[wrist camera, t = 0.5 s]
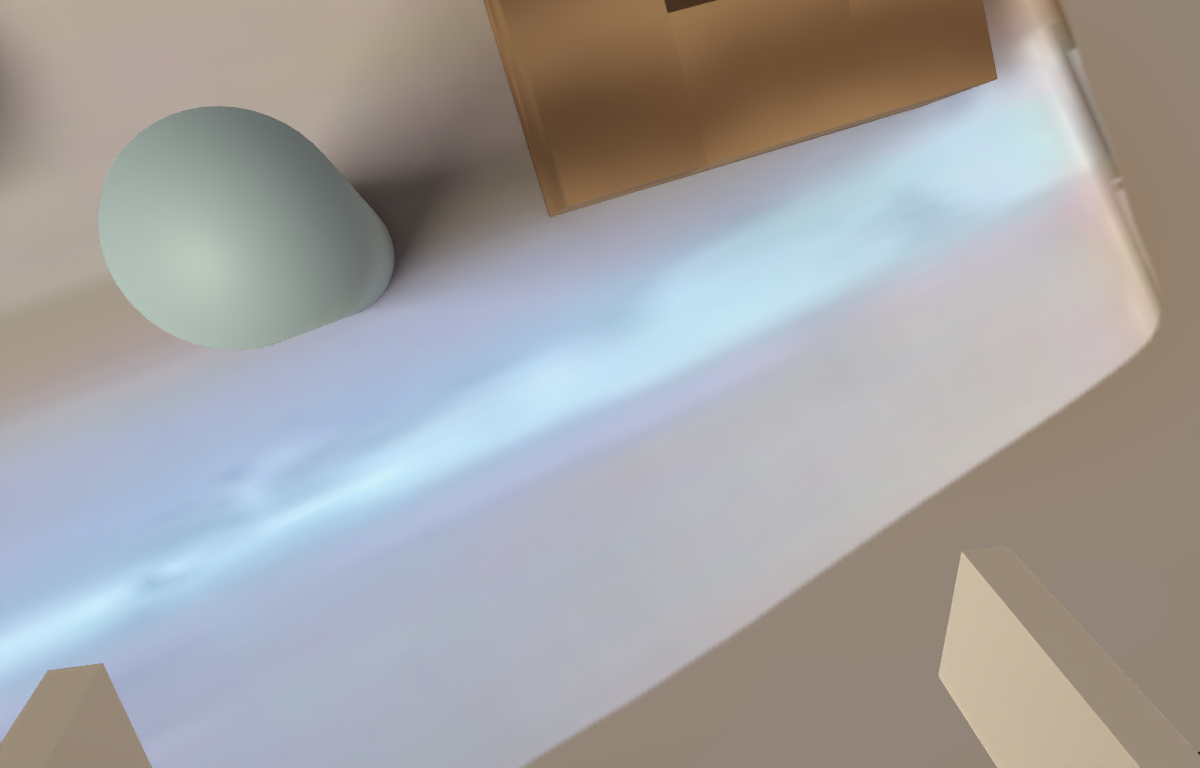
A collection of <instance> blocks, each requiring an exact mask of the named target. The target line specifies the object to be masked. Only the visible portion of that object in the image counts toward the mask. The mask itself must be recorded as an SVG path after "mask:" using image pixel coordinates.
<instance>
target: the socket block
mask: <svg viewBox="0 0 1200 768" xmlns="http://www.w3.org/2000/svg"><path fill="white" fill-rule="evenodd" d="M484 3H485V6H486V10H487V13H488V16H489V19H490V23H491V26H492V29H493V33H494V36H495V39H496V42H497V46H498V49H499V52H500V56H501V59H502V62H503V66H504V69H505V72H506V75H507V79H508V82H509V85H510V89H511V92H512V95H513V98H514V102H515V105H516V108H517V112H518V115H519V118H520V121H521V125H522V128H523V131H524V135H525V138H526V141H527V144H528V148H529V151H530V154H531V158H532V161H533V164H534V168H535V171H536V174H537V177H538V181H539V184H540V187H541V191H542V194H543V197H544V200H545V204H546V207H547V210H548V214H549V217H551V216H555V215H558V214H562V213H565V212H568V211H572V210H575V209H578V208H582V207H585V206H588V205H592V204H595V203H599V202H602V201H605V200H609V199H612V198H615V197H619V196H622V195H625V194H629V193H632V192H635V191H639V190H642V189H646V188H649V187H652V186H656V185H659V184H662V183H666V182H669V181H672V180H676V179H679V178H683V177H686V176H689V175H693V174H696V173H699V172H703V171H706V170H709V169H713V168H716V167H719V166H723V165H726V164H730V163H733V162H736V161H740V160H743V159H746V158H750V157H753V156H756V155H760V154H763V153H766V152H770V151H773V150H777V149H780V148H783V147H787V146H790V145H793V144H797V143H800V142H803V141H807V140H810V139H814V138H817V137H820V136H824V135H827V134H830V133H834V132H837V131H840V130H844V129H847V128H850V127H854V126H857V125H861V124H864V123H867V122H871V121H874V120H877V119H881V118H884V117H887V116H891V115H894V114H898V113H901V112H904V111H908V110H911V109H914V108H918V107H921V106H924V105H927V104H930V103H932V102H935V101H938V100H941V99H943V98H946V97H949V96H951V95H954V94H957V93H960V92H962V91H965V90H968V89H971V88H973V87H976V86H979V85H982V84H984V83H987V82H990V81H993V80H995V79H997V74H996V69H995V64H994V58H993V53H992V48H991V43H990V38H989V33H988V28H987V23H986V17H985V12H984V7H983V2H982V0H484Z"/></svg>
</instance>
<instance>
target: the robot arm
mask: <svg viewBox="0 0 1200 768" xmlns="http://www.w3.org/2000/svg"><path fill="white" fill-rule="evenodd" d="M939 678H940V679H941V681H942V682H943V684H944V686H945V687H946V689H947V690H948V692H949V693H950V695H951V696H952V698H953V700H954V701H955V703H956V704H957V706H958V707H959V709H960V710H961V712H962V714H963V715H964V717H965V718H966V719H967V721H968V723H969V724H970V726H971V727H972V729H973V731H974V732H975V734H976V735H977V737H978V738H979V740H980V741H981V743H982V745H983V746H984V748H985V749H986V751H987V752H988V754H989V755H990V757H991V759H992V760H993V762H994V763H995V765H996V766H997V768H1200V752H1196V751H1195V750H1194V748H1193V747H1192V746H1191V745H1190V744H1189V743H1188V742H1187V741H1186V740H1185V739H1184V738H1183V737H1182V735H1181V734H1180V733H1179V732H1178V731H1177V730H1176V729H1175V728H1174V727H1173V725H1172V724H1171V723H1170V722H1169V721H1168V720H1167V719H1166V718H1165V717H1164V716H1163V715H1162V714H1161V712H1160V711H1159V710H1158V709H1157V708H1156V707H1155V706H1154V705H1153V704H1152V703H1151V701H1150V700H1149V699H1148V698H1147V697H1146V696H1145V695H1144V694H1143V693H1142V692H1141V691H1140V689H1139V688H1138V687H1137V686H1136V685H1135V684H1134V683H1133V682H1132V681H1131V680H1130V679H1129V677H1128V676H1127V675H1126V674H1125V673H1124V672H1123V671H1122V670H1121V669H1120V668H1119V667H1118V665H1117V664H1116V663H1115V662H1114V661H1113V660H1112V659H1111V658H1110V657H1109V656H1108V655H1107V653H1106V652H1105V651H1104V650H1103V649H1102V648H1101V647H1100V646H1099V645H1098V644H1097V643H1096V641H1095V640H1094V639H1093V638H1092V637H1091V636H1090V635H1089V634H1088V633H1087V632H1086V631H1085V630H1084V628H1083V627H1082V626H1081V625H1080V624H1079V623H1078V622H1077V621H1076V620H1075V619H1074V617H1073V616H1072V615H1071V614H1070V613H1069V612H1068V611H1067V610H1066V609H1065V608H1064V606H1063V605H1062V604H1061V603H1060V602H1059V601H1058V600H1057V599H1056V598H1055V597H1054V596H1053V594H1051V592H1050V591H1049V590H1048V589H1047V588H1046V587H1045V586H1044V585H1043V584H1042V582H1041V581H1040V580H1039V579H1038V578H1037V577H1036V576H1035V575H1034V574H1033V573H1032V572H1031V570H1030V569H1029V568H1028V567H1027V566H1026V565H1025V564H1024V563H1023V562H1022V561H1021V560H1020V558H1019V557H1018V556H1017V555H1016V554H1015V553H1014V552H1013V551H1012V550H1011V549H1010V548H1009V546H1008V545H1005V546H998V547H991V548H983V549H975V550H967V551H962V552H961V558H960V563H959V569H958V574H957V579H956V584H955V590H954V595H953V600H952V606H951V612H950V617H949V622H948V628H947V633H946V638H945V643H944V649H943V654H942V660H941V665H940V670H939ZM0 768H152V766H151V764H150V762H149V760H148V758H147V756H146V754H145V752H144V750H143V747H142V745H141V743H140V741H139V739H138V737H137V735H136V733H135V730H134V728H133V726H132V724H131V722H130V720H129V718H128V716H127V714H126V711H125V709H124V707H123V705H122V703H121V701H120V699H119V697H118V694H117V692H116V690H115V688H114V686H113V684H112V682H111V680H110V678H109V675H108V673H107V671H106V669H105V667H104V665H103V663H102V664H94V665H86V666H79V667H71V668H63V669H56V670H48V671H47V673H46V674H45V676H44V677H43V679H42V680H41V682H40V683H39V685H38V686H37V688H36V690H35V691H34V693H33V694H32V696H31V697H30V699H29V700H28V702H27V704H26V705H25V707H24V708H23V710H22V711H21V713H20V714H19V716H18V718H17V719H16V721H15V722H14V724H13V725H12V727H11V728H10V730H9V732H8V733H7V735H6V736H5V738H4V739H3V741H2V742H1V744H0Z"/></svg>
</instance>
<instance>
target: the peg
mask: <svg viewBox="0 0 1200 768" xmlns="http://www.w3.org/2000/svg"><path fill="white" fill-rule="evenodd" d="M98 228H99V238H100V243H101V248H102V252H103V255H104V258H105V261H106V264H107V266H108V268H109V271H110V273H111V275H112V277H113V279H114V281H115V282H116V284H117V285H118V287H119V288H120V290H121V291H122V293H123V294H124V296H125V297H126V298H127V299H128V300H129V301H130V303H131V304H132V305H133V306H134V307H135V308H136V309H137V310H138V311H139V312H140V313H141V314H142V315H144V316H145V317H146V318H147V319H148V320H149V321H151V322H152V323H154V324H155V325H157V326H158V327H159V328H161V329H162V330H164V331H166V332H168V333H170V334H172V335H174V336H175V337H178V338H180V339H183V340H185V341H188V342H190V343H193V344H197V345H201V346H205V347H208V348H215V349H223V350H247V349H256V348H261V347H265V346H270V345H274V344H276V343H279V342H282V341H284V340H287V339H290V338H292V337H295V336H298V335H300V334H303V333H306V332H308V331H311V330H314V329H316V328H319V327H322V326H324V325H327V324H329V323H332V322H335V321H337V320H340V319H343V318H345V317H348V316H351V315H353V314H356V313H359V312H361V311H363V310H365V309H366V308H368V307H369V306H371V305H372V304H374V303H375V302H376V301H377V300H378V299H379V298H380V297H381V295H382V294H383V293H384V292H385V290H386V288H387V287H388V285H389V283H390V280H391V278H392V274H393V271H394V264H395V252H394V245H393V242H392V238H391V236H390V233H389V231H388V229H387V227H386V225H385V224H384V222H383V221H382V220H381V218H380V217H379V216H378V215H377V213H376V212H375V211H374V210H373V209H372V208H371V207H370V206H369V205H368V203H367V202H366V201H365V200H364V199H363V198H362V197H361V196H360V195H359V193H358V192H357V191H356V190H355V189H354V188H353V187H352V186H351V184H350V183H349V182H348V181H347V180H346V179H345V178H344V177H343V176H342V174H341V173H340V172H339V171H338V170H337V169H336V168H335V167H334V165H333V164H332V163H331V162H330V161H329V160H328V159H327V158H326V157H325V155H324V154H323V153H322V152H321V151H320V150H319V149H318V148H317V147H316V146H315V145H314V144H313V143H312V142H311V141H309V140H308V139H307V138H306V137H304V136H303V135H302V134H301V133H299V132H298V131H296V130H295V129H293V128H291V127H290V126H288V125H286V124H285V123H283V122H281V121H278V120H276V119H274V118H272V117H270V116H267V115H264V114H261V113H258V112H255V111H251V110H246V109H241V108H235V107H221V106H216V107H201V108H196V109H190V110H185V111H182V112H179V113H176V114H173V115H170V116H168V117H166V118H164V119H162V120H159V121H157V122H155V123H154V124H152V125H151V126H149V127H148V128H146V129H145V130H143V131H142V132H140V133H139V134H138V135H137V136H136V137H135V138H134V139H133V140H132V141H130V142H129V143H128V145H127V146H126V147H125V148H124V149H123V151H122V152H121V153H120V154H119V155H118V157H117V159H116V160H115V162H114V164H113V165H112V167H111V169H110V171H109V173H108V175H107V178H106V180H105V183H104V185H103V189H102V193H101V197H100V202H99V212H98Z"/></svg>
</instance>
